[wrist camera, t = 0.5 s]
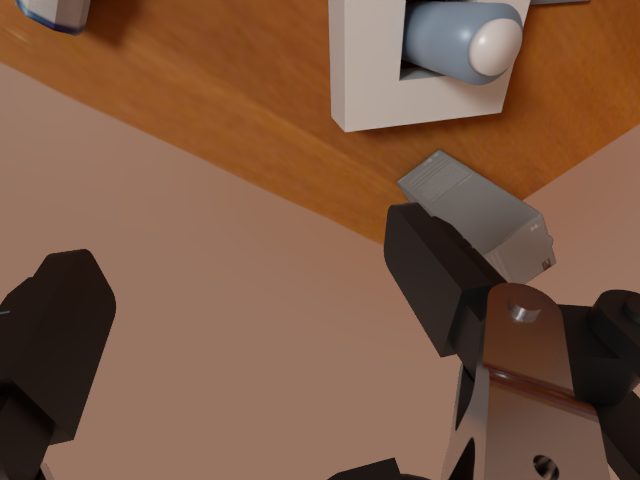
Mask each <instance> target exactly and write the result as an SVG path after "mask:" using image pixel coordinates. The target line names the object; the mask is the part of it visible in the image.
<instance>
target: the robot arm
mask: <svg viewBox="0 0 640 480" xmlns="http://www.w3.org/2000/svg"><path fill="white" fill-rule="evenodd" d="M384 257H385V262H386V265H387V267H388V269H389V271H390V272H391V274H392V276H393V277H394V279H395V281H396V282H397V284H398V286H399V287H400V289H401V291H402V292H403V294H404V296H405V297H406V299H407V301H408V303H409V305H410V306H411V308H412V310H413V311H414V313H415V315H416V316H417V318H418V320H419V321H420V323H421V325H422V327H423V328H424V330H425V332H426V333H427V335H428V337H429V338H430V340H431V342H432V343H433V345H434V347H435V349H436V350H437V352H438V354H439V355H440V357H445V356H450V355H454V354H457V355H458V357H459V358H460V360H461V361H462V364H461V366H460V371H459V378H458V384H457V392H456V399H455V406H454V414H453V421H452V428H451V435H450V441H449V445H448V449H447V453H446V456H445V460H444V465H443V470H442V475H441V480H610V475H609V470H608V465H607V463H608V464H609V465H610V467H611V468H612V469H613V471H614V472H615V473H616V475H617V476H618V477H619V479H620V480H640V398H639V397H638V396H637V395H636V394H635V393H634V392H633V391H632V390H633V389H634V388H635V387H636V386H637V385H638V384H639V383H640V294H639V293H636V292H631V291H626V290H609V291H606V292H603V293H602V294H601V295H600V296H599V298H598V299H597V301H596V302H595V304H594V305H593V307H589V306H588V307H587V306H575V305H560V304H556V303H555V302H554V301H553V300H552V299H551V298H550V297H549V296H547V295H546V294H544V293H543V292H541V291H539V290H537V289H535V288H533V287H530V286H527V285H524V284H519V283H508V282H507V281H506V280H505V279H504V278H503V277H502V276H501V275H500V274H499V273H498V272H497V271H496V269H495V268H494V267H493V266H492V265H491V264H490V263H489V262H488V261H487V260H486V259H485V258H484V257H483V256H482V255H481V254H480V253H479V252H478V251H477V250H476V249H475V248H472V245H471V244H470V243H469V242H468V241H467V240H466V239H465V238H463V236H462V235H461V233H460V232H459V231H458V230H457V229H456V228H455V227H454V226H453V225H452V224H450V223H448V222H446V221H444V220H442V219H441V218H439V217H437V216H432V217H431V216H430V215H429V214H428V213H427V211H426V210H425V209H424V208H423V207H422V206H421V205H420V204H419V203H418V202H411V203H404V204H397V205H391V206H390V207H389V209H388V214H387V223H386V232H385V241H384ZM115 313H116V301H115V296H114V293H113V291H112V289H111V287H110V286H109V284H108V282H107V280H106V278H105V277H104V275H103V273H102V271H101V269H100V268H99V266H98V264H97V262H96V260H95V258H94V257H93V255H92V254H91V252H90V251H88V250H86V249H80V250H73V251H66V252H59V253H52V254H49V255H48V256H47V257H46V258H45V259H44V261H43V262H42V264H41V265H40V267H39V268H38V270H37V272H36V273H35V274H34V276H33V277H29V278H27V279H26V280H25V281H24V282H22V283H21V284H20V285H19V286H17V287H16V288H15V289H14V290H13V291H11V292H10V293H9V294H8V295H7V296H6V298H5V299H4V300H3V302H2V303H1V305H0V480H54V478H53V476H52V474H51V472H50V470H49V467H48V466H47V465H46V464H45V463H44V462H43V458H44V455H45V453H46V450H47V448H48V446H49V445H53V444H58V443H62V442H66V441H71V440H74V437H75V434H76V431H77V428H78V425H79V422H80V419H81V416H82V412H83V410H84V407H85V404H86V401H87V398H88V395H89V392H90V388H91V386H92V383H93V380H94V377H95V374H96V371H97V368H98V365H99V362H100V359H101V356H102V353H103V350H104V347H105V344H106V341H107V338H108V335H109V332H110V329H111V326H112V323H113V320H114V317H115ZM328 480H430V479H427V478H424V477H420V476H415V475H410V474H400V471H399V468H398V466H397V463H396V460H395V458H390V459H387V460H383V461H379V462H376V463H372V464H369V465H365V466H361V467H358V468H354V469H350V470H347V471H343V472H339V473H337V474H335V475H334V476H332V477H330V478H329V479H328Z"/></svg>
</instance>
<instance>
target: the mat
mask: <svg viewBox="0 0 640 480" xmlns="http://www.w3.org/2000/svg"><path fill="white" fill-rule="evenodd" d="M576 1H589V0H530V3H529V5H534V4H548V3H562V2H576Z"/></svg>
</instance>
